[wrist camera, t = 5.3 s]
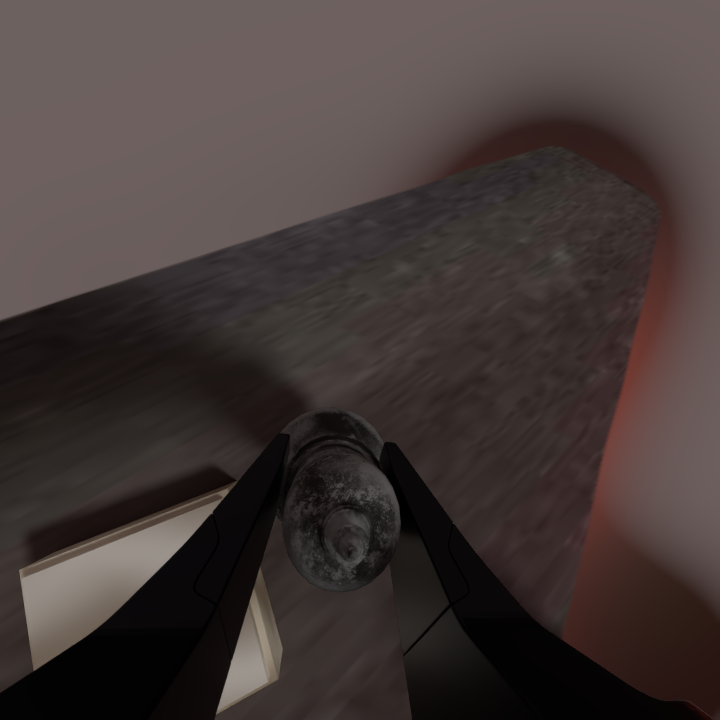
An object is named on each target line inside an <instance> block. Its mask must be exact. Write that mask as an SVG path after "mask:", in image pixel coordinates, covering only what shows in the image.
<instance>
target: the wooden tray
mask: <svg viewBox="0 0 720 720" xmlns="http://www.w3.org/2000/svg"><path fill="white" fill-rule="evenodd" d="M236 483H237V481H235V482H233V483H230V484H228V485H225V486H223V487H220V488H217V489H215V490H212V491H210V492H207V493H205V494H202V495H199V496H197V497H194V498H192V499H189V500H187V501H184V502H181V503H179V504H176V505H174V506H171V507H169V508H166V509H164V510H161V511H158V512H156V513H153V514H151V515H148V516H146V517H143V518H140V519H138V520H135V521H133V522H130V523H128V524H125V525H122V526H120V527H117V528H115V529H112V530H110V531H107V532H105V533H102V534H99V535H97V536H94V537H92V538H89V539H87V540H84V541H81V542H79V543H76V544H74V545H71V546H69V547H66V548H63V549H61V550H58V551H56V552H54V553H52V554H50V555H48V556H46V557H44V558H42V559H40V560H38V561H36V562H34V563H32V564H30V565H28V566H26V567H24V568H23V569H21V570H19V572H20V579H21V586H22V593H23V599H24V606H25V613H26V620H27V627H28V634H29V641H30V648H31V655H32V662H33V669H34V670H36V669H37V668H39V667H40V666H42V665H44V664H45V663H47V662H48V661H50V660H51V659H53V658H54V657H56V656H57V655H59V654H60V653H62V652H63V651H65V650H66V649H68V648H69V647H71V646H72V645H74V644H75V643H77V642H79V641H80V640H81V639H83V638H84V637H86V636H87V635H89V634H90V633H91V632H93V631H94V630H95V629H97V628H98V627H99V626H100V625H101V624H103V623H104V622H105V621H106V620H107V619H109V618H110V617H111V616H112V615H113V614H114V613H115V612H116V611H117V610H118V609H119V608H120V607H121V606H122V605H123V604H124V603H126V602H127V601H128V600H129V599H130V598H131V597H132V596H133V595H134V594H135V593H136V592H137V591H138V590H139V589H140V588H141V587H142V586H143V585H144V584H145V583H146V582H147V581H148V580H149V579H150V578H151V577H152V576H153V575H154V574H155V573H156V572H157V571H158V570H159V569H160V568H161V567H162V566H163V565H164V564H165V563H166V562H167V561H168V560H169V559H170V558H171V557H172V556H173V555H174V554H175V553H176V552H177V551H178V550H179V549H180V548H181V547H182V545H183V544H184V543H185V542H186V541H187V540H188V539H189V538H190V537H191V536H192V535H193V533H194V532H195V531H196V530H197V529H198V528H199V527H200V526H201V524H202V523H203V522H204V521H205V520H206V518H207V517H208V516H209V515H210V514H213V513H212V512H213V510H214V509H215V508H216V507H217V506H218V504H219V503H220V502H221V501H222V500H223V499H224V497H225V496H226V495H227V494H228V493H229V491H230V490H231V489H232V488H233V487H234V485H235V484H236ZM282 650H283V648H282V645H281V641H280V637H279V634H278V630H277V626H276V623H275V619H274V615H273V611H272V608H271V604H270V600H269V597H268V593H267V589H266V586H265V582H264V578H263V575H262V571H261V567H260V569H259V572H258V576H257V579H256V582H255V586H254V589H253V592H252V596H251V599H250V602H249V606H248V609H247V612H246V616H245V619H244V622H243V626H242V629H241V632H240V636H239V639H238V642H237V646H236V649H235V652H234V656H233V659H232V661H231V666H230V669H229V673H228V676H227V679H226V683H225V686H224V689H223V693H222V696H221V699H220V703H219V706H218V709H217V713H216V714H218V713H219V712H221V711H223V710H225V709H227V708H228V707H230V706H232V705H234V704H235V703H237V702H239V701H241V700H242V699H244V698H246V697H248V696H250V695H251V694H253V693H255V692H257V691H258V690H260V689H262V688H264V687H265V686H267V685H269V684H271V683H272V682H274V681H276V680H278V677H279V671H280V664H281V657H282Z"/></svg>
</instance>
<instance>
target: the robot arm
mask: <svg viewBox="0 0 720 720" xmlns="http://www.w3.org/2000/svg"><path fill="white" fill-rule="evenodd" d="M289 448H290V434H285V433H279V434H278V435H277V436H276V437H275V438H274V439H273V440H272V442H271V443H270V444H269V445H268V446H267V448H266V449H265V450H264V451H263V452H262V453H261V455H260V456H259V457H258V458H257V459H256V461H255V462H254V463H253V464H252V465H251V467H250V468H249V469H248V470H247V471H246V472H245V474H244V475H243V476H242V477H241V478H240V480H239V481H238V482H237V483H236V484H235V485H234V487H233V488H232V489H231V490H230V491H229V493H228V494H227V495H226V496H225V497H224V499H223V500H222V501H221V502H220V503H219V504H218V506H217V507H216V508H215V509H214V510H213V512H212V513H213V514H210V515H209V516H208V517H207V518H206V520H205V521H204V522H203V523H202V524H201V526H200V527H199V528H198V529H197V530H196V531H195V532H194V533H193V535H192V536H191V537H190V538H189V539H188V540H187V541H186V542H185V543H184V544H183V545H182V547H181V548H180V549H179V550H178V551H177V552H176V553H175V554H174V555H173V556H172V557H171V558H170V559H169V560H168V561H167V562H166V563H165V564H164V565H163V566H162V567H161V568H160V569H159V570H158V571H157V572H156V573H155V574H154V575H153V576H152V577H151V578H150V579H149V580H148V581H147V582H146V583H145V584H144V585H143V586H142V587H141V588H140V589H139V590H138V591H137V592H136V593H135V594H134V595H133V596H132V597H131V598H130V599H129V600H128V601H127V602H126V603H124V604H123V605H122V606H121V607H120V608H119V609H118V610H117V611H116V612H115V613H114V614H113V615H112V616H111V617H110V618H109V619H107V620H106V621H105V622H104V623H103V624H101V625H100V626H99V627H98V628H97V629H95V630H94V631H93V632H91V633H90V634H89V635H87V636H86V637H84V638H83V639H81V640H80V641H79V642H77V643H75V644H74V645H72V646H71V647H69V648H68V649H66V650H65V651H63V652H62V653H60V654H59V655H57V656H56V657H54V658H53V659H51V660H50V661H48V662H47V663H45V664H44V665H42V666H40V667H39V668H37V669H36V670H34V671H33V672H31V673H30V674H28V675H27V676H25V677H24V678H22V679H21V680H19V681H18V682H16V683H15V684H13V685H12V686H10V687H9V688H7V689H5V690H4V691H2V692H1V693H0V720H214V719H215V716H216V713H217V709H218V706H219V703H220V699H221V696H222V693H223V689H224V686H225V683H226V679H227V676H228V673H229V669H230V666H231V661H232V659H233V656H234V652H235V649H236V646H237V642H238V639H239V636H240V632H241V629H242V626H243V622H244V619H245V616H246V612H247V609H248V606H249V602H250V599H251V596H252V592H253V589H254V586H255V582H256V579H257V576H258V572H259V569H260V566H261V562H262V559H263V556H264V552H265V549H266V546H267V542H268V539H269V536H270V532H271V529H272V526H273V522H274V519H275V516H276V512H277V509H278V506H279V502H280V490H281V485H282V480H283V474H284V471H285V469H286V467H287V462H288V456H289ZM379 462H380V464H381V467H382V470H383V473H384V475H385V476H386V478H387V479H388V481H389V482H390V484H391V485H392V487H393V490H394V492H395V495H396V498H397V501H398V504H399V511H400V520H401V526H400V534H399V541H398V544H397V547H396V549H395V552H394V555H393V557H392V559H391V560H390V569H391V576H392V583H393V590H394V597H395V603H396V610H397V617H398V624H399V631H400V638H401V645H402V652H403V656H404V657H403V659H404V666H405V673H406V680H407V687H408V694H409V701H410V707H411V714H412V720H714V719H712V718H711V717H710V716H708V715H707V714H706V713H704V712H703V711H702V710H700V709H699V708H698V707H696V706H695V705H694V704H692V703H690V702H689V701H685V700H674V701H664V700H659V699H656V698H654V697H651V696H649V695H647V694H645V693H643V692H641V691H639V690H637V689H636V688H634V687H632V686H631V685H629V684H627V683H626V682H624V681H623V680H621V679H620V678H618V677H617V676H615V675H614V674H612V673H611V672H609V671H608V670H606V669H605V668H603V667H602V666H600V665H599V664H597V663H596V662H594V661H593V660H591V659H590V658H588V657H587V656H585V655H584V654H582V653H581V652H579V651H578V650H576V649H575V648H573V647H572V646H570V645H569V644H567V643H566V642H564V641H563V640H561V639H560V638H558V637H557V636H555V635H554V634H552V633H551V632H549V631H548V630H546V629H545V628H544V627H542V626H541V625H540V624H539V623H538V622H537V621H535V620H534V619H533V618H532V617H531V616H530V615H529V614H528V613H527V612H526V611H525V610H524V609H523V608H522V606H521V605H520V604H519V603H518V602H517V601H516V600H515V598H514V597H513V596H512V595H511V594H510V593H509V591H508V590H507V589H506V588H505V587H504V586H503V584H502V583H501V582H500V581H499V580H498V579H497V577H496V576H495V575H494V574H493V573H492V571H491V570H490V569H489V568H488V567H487V566H486V564H485V563H484V562H483V561H482V560H481V558H480V557H479V556H478V555H477V553H476V552H475V551H474V550H473V549H472V547H471V546H470V545H469V543H468V542H467V541H466V539H465V538H464V537H463V535H462V534H461V533H460V531H459V530H458V528H457V527H456V526H455V524H453V522H452V520H451V519H450V518H449V516H448V515H447V513H446V512H445V511H444V509H443V508H442V507H441V505H440V504H439V502H438V501H437V500H436V498H435V497H434V496H433V494H432V493H431V491H430V490H429V489H428V487H427V486H426V484H425V483H424V482H423V480H422V479H421V478H420V476H419V475H418V473H417V472H416V471H415V469H414V468H413V467H412V465H411V464H410V462H409V461H408V460H407V458H406V457H405V456H404V454H403V453H402V451H401V450H400V449H399V447H398V446H397V445H396V444H395V443H392V442H385V443H384V445H383V448H382V451H381V454H380V459H379Z"/></svg>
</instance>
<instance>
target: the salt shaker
mask: <svg viewBox="0 0 720 720" xmlns="http://www.w3.org/2000/svg"><path fill="white" fill-rule="evenodd" d="M280 433H285V434H290V448H289V456H288V462H287V467H286V469H285V471H284V474H283V480H282V485H281V490H280V502H279V506H278V509H277V512H276V515H277V517H278V519H279V520H280V521H282V534H283V538H284V542H285V546H286V549H287V553H288V556H289V558H290V560H291V561H292V563H293V565H294V566H295V568H296V570H297V571H298V572H299V573H300V574H301V575H302V576H303V577H304V578H305V579H306V580H307V581H308V582H309V583H311V584H313V585H315V586H317V587H319V588H321V589H323V590H326V591H334V592H346V591H351V590H357V589H359V588H361V587H363V586H365V585H366V584H368V583H370V582H372V581H373V580H374V579H375V578H376V577H377V576H378V575H379V574H381V573H382V572H383V571H384V569H385V568H386V566H387V565H388V563H389V562H390V560H391V559H392V557H393V555H394V552H395V549H396V547H397V544H398V541H399V534H400V526H401V520H400V511H399V504H398V501H397V498H396V495H395V492H394V490H393V487H392V485H391V484H390V482H389V481H388V479H387V478H386V476H385V475H384V473H383V470H382V467H381V464H380V462H379V459H380V454H381V451H382V448H383V445H384V444H383V441H382V439H381V438H380V436H379V435H378V433H377V432H376V430H375V429H374V427H373V426H372V425H371V424H369V423H368V422H367V421H366V420H365V419H364V418H363V417H361V416H359V415H357V414H355V413H353V412H351V411H349V410H344V409H339V408H334V407H333V408H319V409H315V410H312V411H310V412H307V413H304V414H302V415H300V416H299V417H297V418H296V419H294V420H293V421H291V422H290V423H289V424H288V425H287V426H286V427H285V428H284V429H283V430H282V431H281V432H280Z"/></svg>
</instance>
